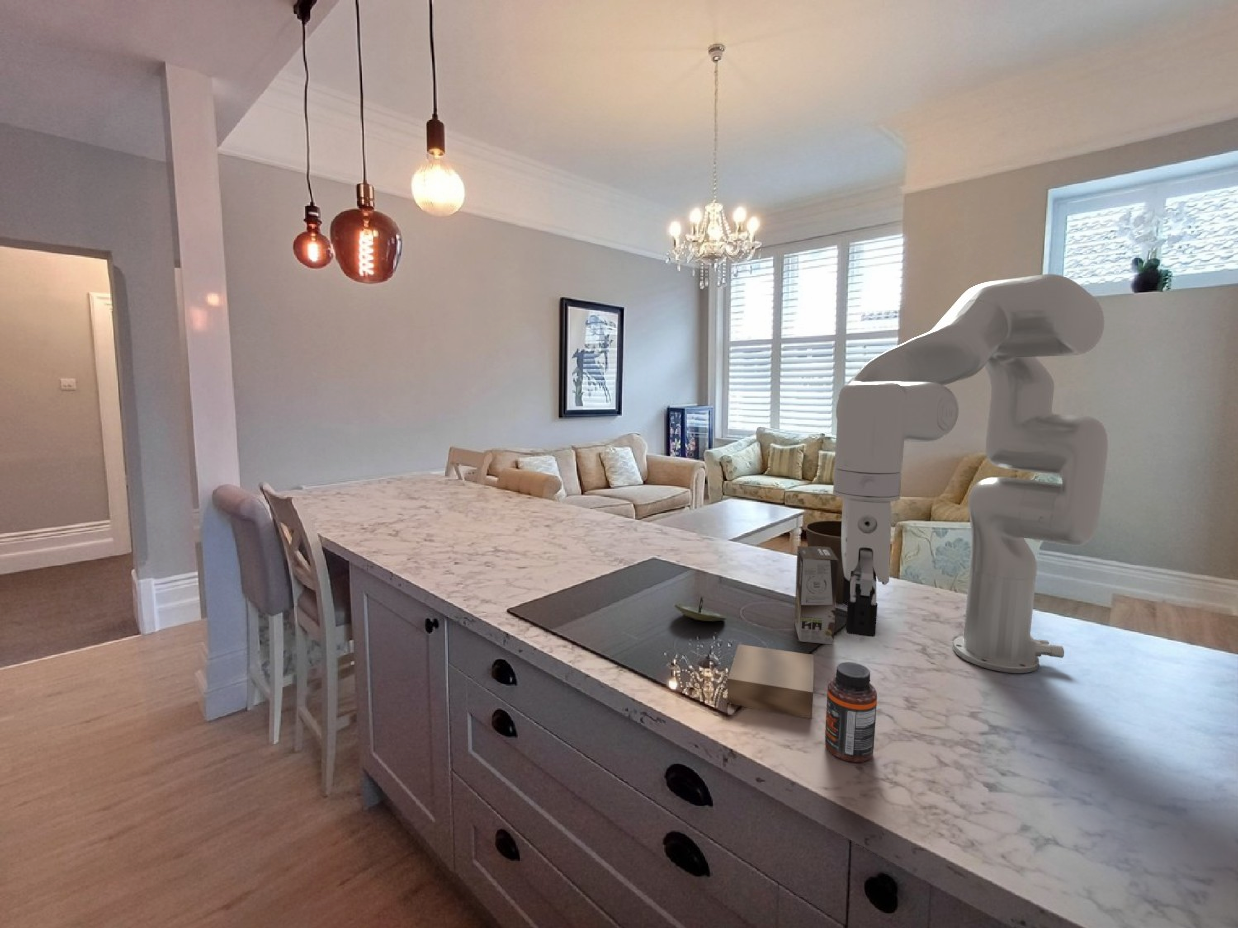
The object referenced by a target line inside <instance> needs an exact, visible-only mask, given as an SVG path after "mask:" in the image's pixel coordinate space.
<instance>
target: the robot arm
mask: <svg viewBox="0 0 1238 928" xmlns="http://www.w3.org/2000/svg"><path fill="white" fill-rule="evenodd" d="M939 319H940V320H939V321H937V323H935V325H934V326H933V328H932V329H931V330H930V331H928V332H926V333H923V334H921V335H919V336H916V337H914V338H911V339H909V340H907V341H906V342H903V343H901V344H899V345H897V346H895V347H893V348H890V349H888V350H886V351H884V352H883V353H881V354H879V355H877V356H875V357H873V358H872V359H870V360H869V361H868V362H867V363H866V364H864V365H863V366H862V367H861V368H860V369H859V370H858V371H857V372H856V373H855V374H854V376H853V377H852V378H851V379H850V380H849V381H848V382H847V384H845V385H844V386H842V387H841V389H840V392H839V395H838V400H837V403H836V407H835V408H836V409H835V416H836V417H835V418H836V436H835V438H836V439H835V449H834V450H835V453H834V454H835V456H834V468H833V469H834V471H833V488H832V494H833V496H836V497H838V498H841V499H842V509H841V510H842V511H841V521H842V527H841V552H842V564H843V571H844V581H843V597H842V603H843V604H842V605H844V606H846V617H845V632H846V633H847V634H849V635H853V636H854V635H855V636H860V637H861V636H862V637H869V638H874V637H875V636H876V631H877V617H878V603H877V582H878V583H881V584H882V585H883V586H884V585H885V586H886V585H887V584H888V583H889V582H890V560H891V558H890V557H891V538H892V537H891V535H892V533H891V532H892V505H891V504H892V503H891V502H896V501H900V499H901V487H902V471H903V461H904V460H903V458H904V449H905V448H904V447H905V442H913V443H930V442H934V441H938V440H940V439H942V438H944V437H946V436H947V435H948V434H949V433H950V432H951V431H952V430H953V429H954V428H955V426H956V423H957V421H958V419H959V418H958V417H959V403H958V399H957V397H956V396H955V394H954V393H953V392H952V390H951V389H950V388H948V387H947V386H946V385H950V384H953V383H957V382H960V381H963V380H967V379H968V378H971V377H973V376H975V375H976V374H978V373H979V372H981V371H982V370H983V369H984V368H985V369H986V372H987V374H988V377H989V380H990V385H991V387H990V389H991V390H990V402H989V403H990V404H989V411H988V421H987V428H986V429H987V430H986V438H985V455H986V457H987V460H988V462H989V463H990V464H992V465H993V466H995V467H998V468H1002V469H1006V470H1012V471H1019V472H1020V471H1021V472H1031V473H1040V474H1050V475H1057V476H1059V477H1060V478H1061V482H1062V483H1060V482H1059V483H1058V482H1049V481H1040V480H1036V479H1026V478H1025V479H1024V478H1017V477H1009V476H1008V477H1007V476H1006V477H1005V476H995V477H994V476H993V477H985V478H984V479H981V480H979V481H977V482H976V483H975V484H974V485H973V486H972V488H971V489H970V492H969V494H968V501H967V506H968V507H967V508H968V516H969V523H970V524H969V525H970V539H971V541H970V557H969V567H968V568H969V570H968V581H967V582H968V583H967V593H966V602H965V603H966V606H965V615H964V617H965V618H964V626H963V627H964V630H963V635H961V636H958V637H955V639H953V641H952V649H953V651H954V652H955V654H956V655H958V656H959V657H960V658H961V659H963V660H965V661H967V662H969V663H970V664H973V665H975V666H978V667H980V668H985V669H988V670H991V671H996V672H1002V673H1008V674H1026V673H1031V672H1034V671H1037V670H1038V669H1039V665H1040V659H1039V657H1041V656H1049V657H1052V658H1053V657H1054V658H1061V659H1062V658H1064V656H1065V649H1064V647H1063V646H1062V645H1057V644H1050V642H1049V640H1047V639H1037V638H1033V637H1032V636H1031V631H1032V619H1033V609H1034V601H1035V591H1036V582H1037V580H1036V579H1037V574H1038V573H1037V572H1038V564H1037V559H1036V556H1035V554H1034V551H1032V549H1031V547H1030V546H1029V544H1028V542H1027V541H1026V539H1030V540H1036V541H1041V542H1046V543H1052V544H1058V545H1064V546H1065V545H1066V546H1070V547H1071V546H1072V547H1075V546H1077V547H1079V546H1084V545H1086V544H1087V543H1089V542H1090V541H1091V540H1092V539H1093V537H1094V536H1095V534H1096V532H1097V528H1098V525H1099V520H1100V514H1101V512H1100V511H1101V505H1102V498H1103V490H1104V483H1105V474H1106V468H1107V460H1108V449H1109V448H1108V447H1109V446H1108V445H1109V443H1108V434H1107V430H1106V428H1105V426H1104V425H1103V422H1101V421H1100V420H1099V419H1097V418H1094V417H1091V416H1089V415H1088V416H1087V415H1082V414H1081V415H1079V414H1059V413H1058V414H1056V413H1055V414H1054V413H1053V403H1054V401H1053V400H1054V395H1055V394H1054V392H1055V381H1054V379H1053V377H1052V374H1051V373H1050V372H1049V371H1048V369H1047V368H1046V366H1044V364H1043V363H1042V362H1041V361H1040V360H1039V359H1038V357H1041V358H1042V357H1064V356H1065V357H1069V356H1070V357H1071V356H1079V355H1083V354H1086V353H1087V352H1089V351H1092V350H1093V349H1094V348H1095V347H1096V346H1097V344H1098V343H1099V342H1100V340H1101V338H1102V336H1103V332H1104V327H1105V315H1104V311H1103V308H1102V306H1101V304H1100V302H1099V301H1098V300H1097V299H1096V298H1095V296H1093V295H1092V294H1091V293H1090V292H1089V291H1087V290H1086V289H1085V288H1084V287H1082V286H1081V285H1080V284H1079V283H1078V282H1076V281H1074V280H1073V279H1070V278H1069V277H1066V276H1063V275H1059V274H1055V273H1045V274H1038V275H1037V274H1036V275H1030V276H1022V277H1014V278H1013V277H1012V278H1005V279H998V280H992V281H986V282H983V283H980V284H977V285H975V286H973V287H970V288H969V289H967V290H966V291H965V292H964V293H962V295H960V297H959V298H958V299H957V301H955V302H954V304H953V305H952V306H951V307H950V308H949V309H948V310H947V312H945V314H944V315H943V316H942V317H941V318H939ZM1041 658H1042V657H1041Z"/></svg>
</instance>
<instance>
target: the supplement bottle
mask: <svg viewBox="0 0 1238 928" xmlns="http://www.w3.org/2000/svg"><path fill="white" fill-rule="evenodd" d="M835 671H836V673H835V676H834V677H833V678H831V679H830V680H829V682H828V683H827V689H826V690H827V692H826V693H827V694H826V708H825V709H826V711H825V712H826V713H825V729H824V743H825V747H826V749H827V750H828V751H829V752H830V753H831V754H833V756H835V757H837V758H838V759H841V760H843V761H846V762H847V761H848V762H851V763H862V762H863V763H864V762H865V761H869V760H870V759H871V758H872V757H873V754H874V749H875V735H876V723H877V722H876V721H877V720H876V719H877V705H878V693H877V690H876V688H875V687H874V685H873V684H872V683H870V682H871V671H870V670H869V669H868V667H867V666H865V665H863V664H860V663H857V662H852V661H845V662H840V663H838V664H837V666H836V670H835Z"/></svg>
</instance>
